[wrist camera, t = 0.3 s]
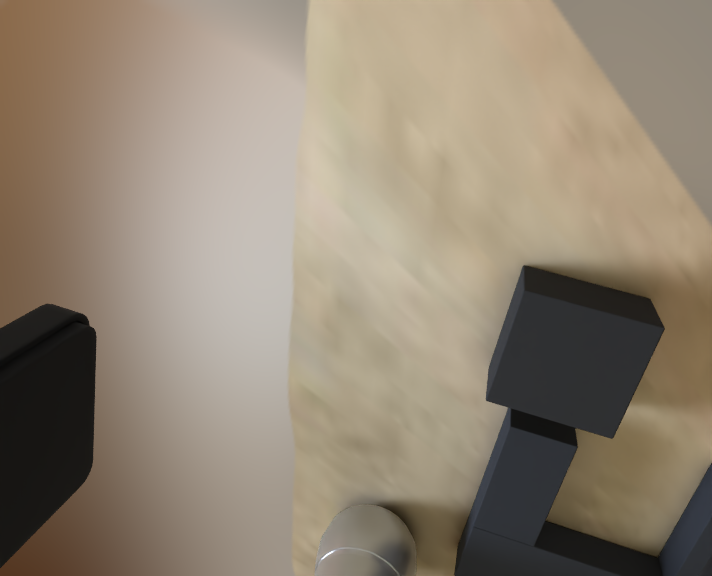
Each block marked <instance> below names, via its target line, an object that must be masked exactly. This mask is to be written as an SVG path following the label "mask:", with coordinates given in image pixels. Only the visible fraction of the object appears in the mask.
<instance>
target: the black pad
mask: <svg viewBox="0 0 712 576" xmlns="http://www.w3.org/2000/svg"><path fill="white" fill-rule="evenodd" d="M664 329H665V328H664V326H663V324H662V322H661V320H660V318H659V316H658V314H657V312H656V309H655V307H654V305H653V303H652V301H651V299H648V298H645V297H641V296H637V295H633V294H630V293H626V292H622V291H618V290H615V289H611V288H607V287H603V286H600V285H596V284H592V283H588V282H585V281H581V280H577V279H573V278H570V277H566V276H562V275H558V274H555V273H551V272H547V271H543V270H540V269H536V268H532V267H529V266H523V268H522V271H521V274H520V277H519V280H518V283H517V285H516V288H515V291H514V294H513V297H512V300H511V303H510V306H509V309H508V312H507V315H506V318H505V321H504V324H503V327H502V330H501V333H500V336H499V339H498V342H497V345H496V348H495V351H494V354H493V357H492V360H491V363H490V366H489V371H488V381H487V392H486V401H489V402H492V403H495V404H499V405H502V406H505V407H509V408H512V409H515V410H518V411H522V412H525V413H528V414H532V415H535V416H538V417H542V418H545V419H548V420H551V421H555V422H558V423H561V424H565V425H568V426H571V427H575V428H578V429H581V430H585V431H588V432H591V433H594V434H598V435H601V436H604V437H608V438H611V439H613V438H614V435H615V433H616V431H617V429H618V427H619V425H620V423H621V421H622V418H623V416H624V414H625V412H626V410H627V408H628V406H629V404H630V401H631V399H632V397H633V395H634V393H635V391H636V389H637V387H638V384H639V382H640V380H641V378H642V376H643V374H644V372H645V370H646V367H647V365H648V363H649V361H650V359H651V357H652V355H653V352H654V350H655V348H656V346H657V344H658V342H659V340H660V338H661V335H662V333H663V331H664Z"/></svg>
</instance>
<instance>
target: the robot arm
mask: <svg viewBox="0 0 712 576" xmlns="http://www.w3.org/2000/svg"><path fill="white" fill-rule="evenodd" d="M95 367H96V332H95V330H94V328H92V327H90V326H89V321H88V319H87V317H86V316H85V315H83V314H81V313H78V312H75V311H72V310H69V309H66V308H62V307H59V306H56V305H53V304H45V305H42V306H40V307H38V308H37V309H35V310H33V311H31V312H29V313H27V314H26V315H24V316H22V317H20V318H18V319H17V320H15V321H13V322H11V323H9V324H7V325H6V326H4V327H2V328H0V568H1V567H2V566H3V565H4V564H5V563H6V562H7V561H8V560H9V559H10V557H12V556H13V555H14V554H15V553H16V552H17V551H18V550H19V549H20V548H21V546H23V544H24V543H25V542H26V541H27V540H28V539H29V538H30V537H31V536H32V535H33V534H34V533H35V532H36V531H37V530H38V529H39V528H40V527H41V526H42V525H43V524H44V523H45V522H46V521H47V520H48V519H49V518H50V517H51V516H52V515H53V514H54V513H55V512H56V511H57V510H58V509H59V508H60V507H61V506H62V505H63V504H64V503H65V502H66V501H67V500H68V499H69V498H70V497H71V496H72V494H74V493H75V492H76V491H77V489H78V488H79V487H80V486H81V485H82V484H83V483H84V482H85V480H86V479H87V477H88V475H89V473H90V471H91V468H92V463H93V440H94V403H95ZM699 576H712V556H711V557H710V559H709V560H708V562H707V563H706V565H705V567H704V568H703V570H702V571H701V573H700V574H699Z"/></svg>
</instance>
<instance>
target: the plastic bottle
mask: <svg viewBox="0 0 712 576" xmlns="http://www.w3.org/2000/svg"><path fill="white" fill-rule="evenodd" d="M416 569H417V568H416V545H415V542H414V539H413V537H412V535H411V533H410V531H409V530H408V528H407V526H406V525H405V524H404V522H403V521H402V520H401V519H400V518H399V517H398V516H397V515H395V514H394V513H392V512H391V511H389V510H387V509H385V508H383V507H380V506H376V505H370V504H361V505H356V506H352V507H350V508H347V509H345V510H343V511H341V512H340V513H338V514H337V515H336V516H335V517H334V518H333V520H332V521H331V523H330V525H329V526H328V528H327V529H326V531H325V532H324V534H323V535H322V538H321V541H320V545H319V549H318V554H317V558H316V565H315V575H314V576H416Z"/></svg>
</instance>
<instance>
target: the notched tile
mask: <svg viewBox="0 0 712 576" xmlns="http://www.w3.org/2000/svg"><path fill="white" fill-rule="evenodd" d="M577 448H578V446H577V439H576V431H575V427H571V426H568V425H565V424H561V423H558V422H555V421H551V420H548V419H545V418H542V417H538V416H535V415H532V414H528V413H525V412H522V411H518V410H515V409H512V408H508V411H507V413H506V416H505V419H504V421H503V424H502V427H501V430H500V432H499V435H498V438H497V441H496V443H495V446H494V449H493V452H492V454H491V457H490V460H489V462H488V465H487V468H486V471H485V473H484V476H483V479H482V482H481V484H480V487H479V490H478V493H477V495H476V499H475V501H474V504H473V506H472V509H471V512H470V515H469V517H468V520H467V523H466V526H465V528H464V531H463V534H462V537H461V539H460V542H459V545H458V549H457V557H456V565H455V574H454V575H455V576H699V574H700V573H701V571H702V570H703V568H704V567H705V565H706V563H707V562H708V560H709V559H710V557H711V556H712V464H711V465H710V467H709V469H708V471H707V472H706V474H705V476H704V478H703V479H702V481H701V483H700V485H699V486H698V488H697V490H696V492H695V493H694V495H693V497H692V499H691V500H690V502H689V504H688V506H687V507H686V509H685V511H684V513H683V514H682V516H681V518H680V520H679V521H678V523H677V525H676V527H675V528H674V530H673V532H672V534H671V535H670V537H669V539H668V541H667V542H666V544H665V546H664V548H663V549H662V551H661V553H660V555H659V556H658V558H656V557H652V556H649V555H646V554H643V553H640V552H637V551H634V550H631V549H628V548H625V547H622V546H619V545H616V544H613V543H610V542H607V541H604V540H601V539H598V538H595V537H592V536H588V535H585V534H582V533H579V532H576V531H573V530H570V529H567V528H564V527H561V526H558V525H555V524H552V523H549V522H546V521H545V520H546V518H547V516H548V513H549V511H550V509H551V507H552V504H553V502H554V500H555V498H556V495H557V493H558V491H559V488H560V486H561V484H562V482H563V479H564V477H565V475H566V473H567V470H568V468H569V466H570V464H571V461H572V459H573V457H574V455H575V452H576V450H577Z"/></svg>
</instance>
